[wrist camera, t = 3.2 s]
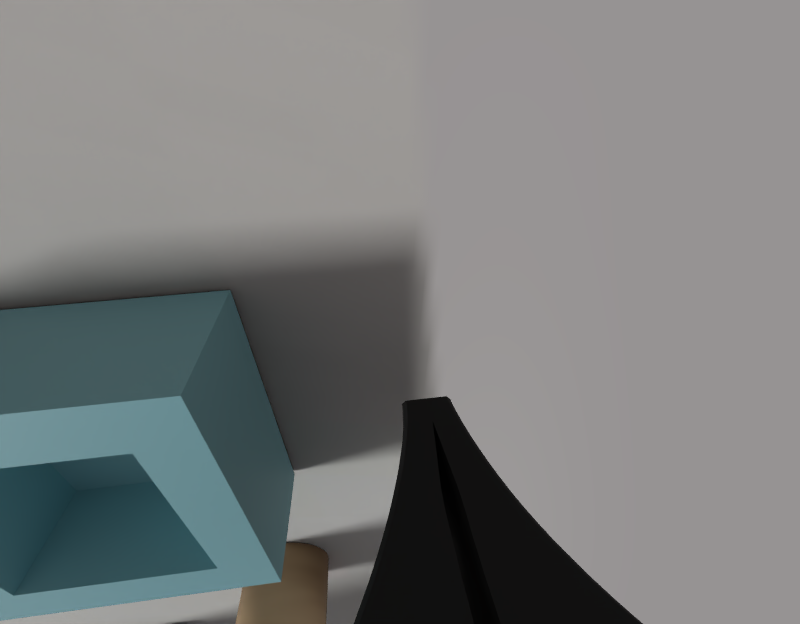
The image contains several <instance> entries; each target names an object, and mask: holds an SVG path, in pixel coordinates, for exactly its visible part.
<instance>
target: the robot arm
mask: <svg viewBox="0 0 800 624" xmlns="http://www.w3.org/2000/svg"><path fill="white" fill-rule="evenodd" d="M402 406H403V427H404V428H403V441H402V449H401V456H400V463H399V470H398V475H397V480H396V485H395V490H394V495H393V499H392V504H391V508H390V512H389V516H388V520H387V524H386V527H385V531H384V535H383V538H382V542H381V545H380V548H379V551H378V555H377V558H376V561H375V565H374V568H373V571H372V574H371V577H370V580H369V583H368V586H367V589H366V591H365V594H364V597H363V600H362V602H361V605H360V608H359V611H358V614H357V616H356V619H355V622H354V624H643V623H641V622H640V621H639V620H638V619H637V618H635V617H634V616H633V615H632V614H631V613H630V612H629V611H627V610H626V609H625V608H624V607H623V606H622V605H620V603H618V602H617V601H616V600H615V599H614V598H613V597H612V596H611V595H610V594H608V593H607V592H606V591H605V590H604V589H603V588H602V587H601V586H600V585H599V584H598V583H597V582H595V581H594V580H593V579H592V578H591V577H590V576H589V575H588V574H587V573H586V572H585V571H584V570H583V569H582V568H581V567H580V566H579V565H578V564H577V563H576V562H575V561H574V560H573V559H572V558H571V557H570V556H569V555H568V554H567V553H566V552H565V551H564V550H563V549H562V548H561V547H560V546H559V545H558V544H557V543H556V542H555V541H554V540H553V539H552V538H551V537H550V536H549V535H548V534H547V532H546V531H545V530H544V529H543V528H542V527H541V526H540V525H539V524H538V523H537V522H536V520H535V519H534V518H533V517H532V516H531V515H530V514H529V513H528V512H527V510H526V509H525V508H524V507H523V506H522V505H521V503H520V502H519V501H518V500H517V498H516V497H515V496H514V495H513V494H512V492H511V491H510V490H509V489H508V487H507V486H506V485H505V483H504V482H503V481H502V479H501V478H500V477H499V476H498V475H497V473H496V472H495V470H494V469H493V468H492V466H491V465H490V464H489V462H488V461H487V459H486V458H485V456H484V455H483V454H482V452H481V450H480V449H479V448H478V446H477V445H476V443H475V442H474V440H473V439H472V437H471V436H470V434H469V432H468V431H467V429H466V427H465V426H464V424H463V423H462V421H461V419H460V417H459V416H458V414H457V412H456V410H455V408H454V406H453V404H452V402H451V400H450V399H449V398H448V397H436V398H427V399H418V400H408V401H405V402H404V403H403V404H402Z"/></svg>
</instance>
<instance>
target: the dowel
mask: <svg viewBox="0 0 800 624" xmlns="http://www.w3.org/2000/svg"><path fill="white" fill-rule="evenodd" d="M328 561H329V558H328V555H327V553H326V552H325V551H324V550H323V549H321V548H319V547H317V546H314V545H310V544H305V543H292V542H291V543H286V547H285V555H284V563H283V571H282V579H281V582H276V583H269V584H262V585H255V586H247V587H243V588H242V593H241V598H240V603H239V609H238V614H237V619H236V624H326V613H327V587H328Z"/></svg>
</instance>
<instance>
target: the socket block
mask: <svg viewBox="0 0 800 624" xmlns="http://www.w3.org/2000/svg"><path fill="white" fill-rule="evenodd" d="M293 482H294V471H293V469H292V466H291V463H290V460H289V457H288V454H287V451H286V448H285V446H284V443H283V440H282V437H281V434H280V431H279V428H278V426H277V423H276V420H275V417H274V414H273V411H272V408H271V405H270V403H269V400H268V397H267V394H266V391H265V388H264V385H263V382H262V380H261V377H260V374H259V371H258V368H257V365H256V362H255V360H254V357H253V354H252V351H251V348H250V345H249V342H248V339H247V337H246V334H245V331H244V328H243V325H242V322H241V319H240V317H239V314H238V311H237V308H236V305H235V302H234V299H233V296H232V294H231V291H230V290H225V291H213V292H202V293H190V294H179V295H167V296H156V297H144V298H133V299H122V300H110V301H99V302H87V303H76V304H64V305H53V306H41V307H30V308H18V309H7V310H0V621H1V620H8V619H16V618H23V617H30V616H37V615H45V614H52V613H59V612H66V611H74V610H81V609H88V608H95V607H103V606H110V605H117V604H124V603H132V602H139V601H146V600H153V599H161V598H168V597H175V596H182V595H190V594H197V593H204V592H211V591H219V590H226V589H233V588H240V587H247V586H255V585H262V584H269V583H276V582H281V579H282V571H283V563H284V555H285V547H286V539H287V531H288V523H289V515H290V507H291V499H292V490H293Z"/></svg>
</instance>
